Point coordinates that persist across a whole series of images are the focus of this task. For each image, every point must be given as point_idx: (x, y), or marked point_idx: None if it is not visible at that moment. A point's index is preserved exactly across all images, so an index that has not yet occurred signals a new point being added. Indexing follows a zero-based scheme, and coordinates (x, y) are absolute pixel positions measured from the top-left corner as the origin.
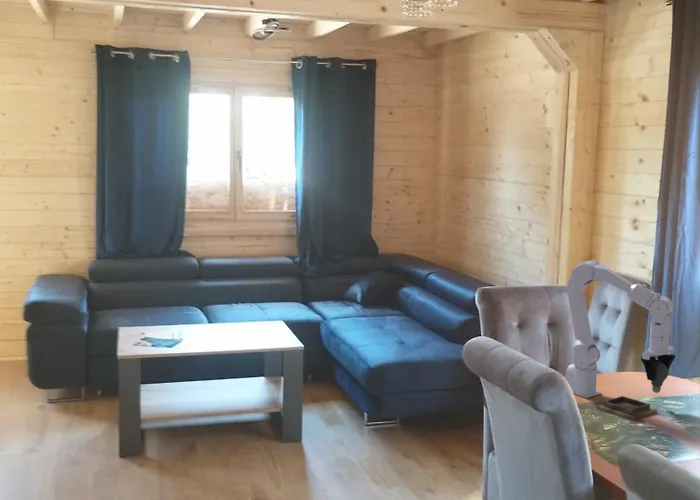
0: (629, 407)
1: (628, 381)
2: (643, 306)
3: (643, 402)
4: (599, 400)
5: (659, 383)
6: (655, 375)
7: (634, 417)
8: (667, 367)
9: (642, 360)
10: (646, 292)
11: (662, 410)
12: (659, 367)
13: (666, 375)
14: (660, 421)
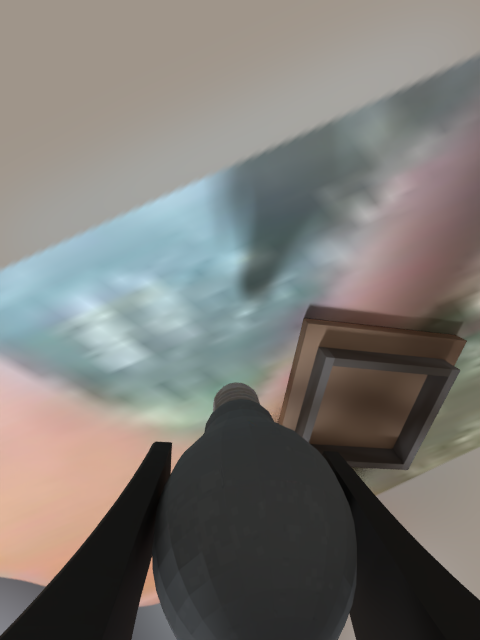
0: (354, 400)
1: (33, 524)
2: None
3: (322, 384)
4: None
5: (267, 417)
6: (355, 489)
7: (461, 339)
8: (136, 538)
9: None
10: None
11: (254, 315)
12: (345, 581)
13: (268, 440)
14: (406, 258)
